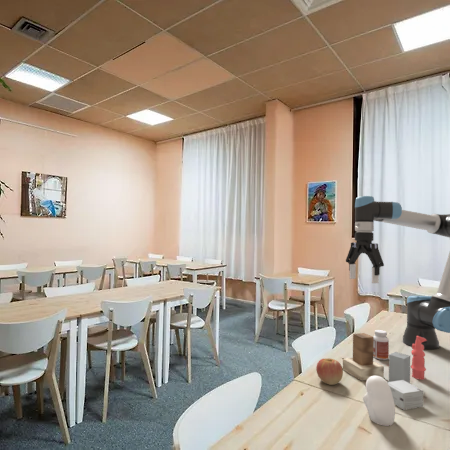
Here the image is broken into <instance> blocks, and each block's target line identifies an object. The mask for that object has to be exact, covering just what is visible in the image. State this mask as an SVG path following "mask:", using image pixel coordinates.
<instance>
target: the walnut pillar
mask: <svg viewBox="0 0 450 450" xmlns="http://www.w3.org/2000/svg"><path fill="white" fill-rule="evenodd" d="M373 341H374V337H373V336H372V335H369V334H367V333H365V332H360V333H353V334H352V358H353V361H354V362H356V363H358V364H360V365H362V366H364V365H372V364H373V361H374V357H373Z"/></svg>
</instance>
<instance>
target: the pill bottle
mask: <svg viewBox="0 0 450 450" xmlns="http://www.w3.org/2000/svg"><path fill="white" fill-rule="evenodd" d="M387 335H388V332H387V331H386V330H381V329H375V330H374V334H373V336H372V337H374V341H373V359H377V360H381V361H386V360H389V354H390V351H389V347H390V346H389V342H390V339H389V338H388V336H387Z"/></svg>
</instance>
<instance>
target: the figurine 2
mask: <svg viewBox="0 0 450 450" xmlns="http://www.w3.org/2000/svg"><path fill="white" fill-rule="evenodd" d="M416 337H417V338H416V341H415V344H412V346H411V348H412V350H411V355H412V359H411V364H410V369H412V370H411V371H412V372H411V376H412V378H413V379H417V380H419V381H421V380H425V372H426V371H427V368H426V366H425V361H426V360H425V356H426V353H425V351H424V350H425V349H424V345H422V344H421V343H422V342H424V341H427V340H426V339H425V338H422V337H420V336H416Z"/></svg>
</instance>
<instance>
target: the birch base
mask: <svg viewBox="0 0 450 450" xmlns="http://www.w3.org/2000/svg"><path fill="white" fill-rule="evenodd" d="M342 368H343V372H346V373H348V374H349V375H351V376H353V377H355V378H356V379H358V380H359V381H367V379H368V378H369V377H371V376H380V377H382V378H385V376H384V375H385V371H384V370H385V366H384V365H382V364H380V363H379V362H376V361H374V360H373V364H372V365H364V366H362V365H360V364H358V363H356V362H354V361H353V357H346V358H342Z"/></svg>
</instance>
